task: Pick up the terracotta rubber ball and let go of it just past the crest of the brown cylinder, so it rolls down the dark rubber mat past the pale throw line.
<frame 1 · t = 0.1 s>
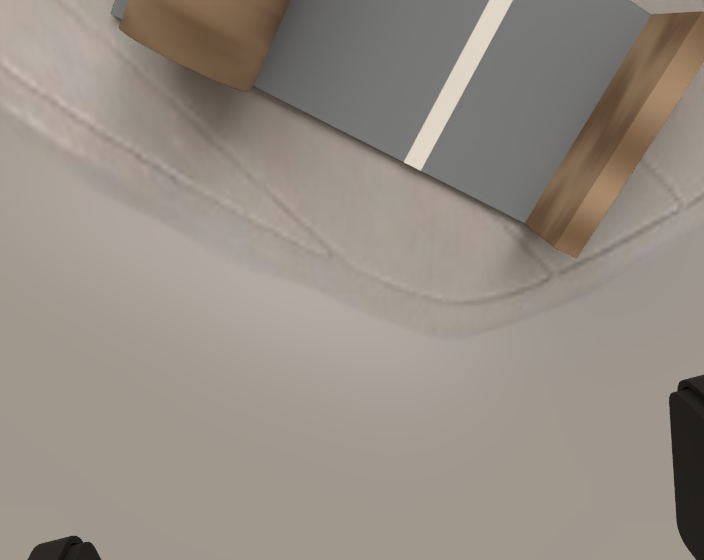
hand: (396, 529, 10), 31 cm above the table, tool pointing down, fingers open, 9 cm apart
throwing mat: (401, 21, 37), on the table
backstop board: (592, 129, 40), resting on throwing mat
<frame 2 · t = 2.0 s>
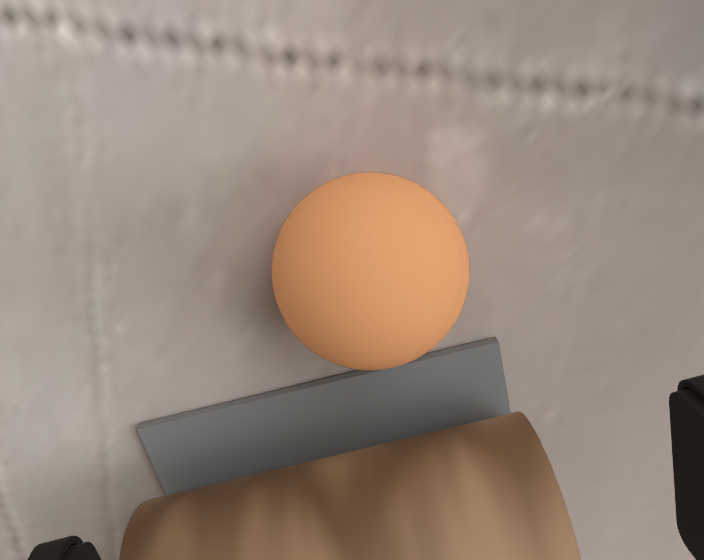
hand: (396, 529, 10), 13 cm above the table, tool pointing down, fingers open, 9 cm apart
ball: (370, 271, 20), point 3 cm above the table
brown cylinder: (346, 482, 26), resting on throwing mat
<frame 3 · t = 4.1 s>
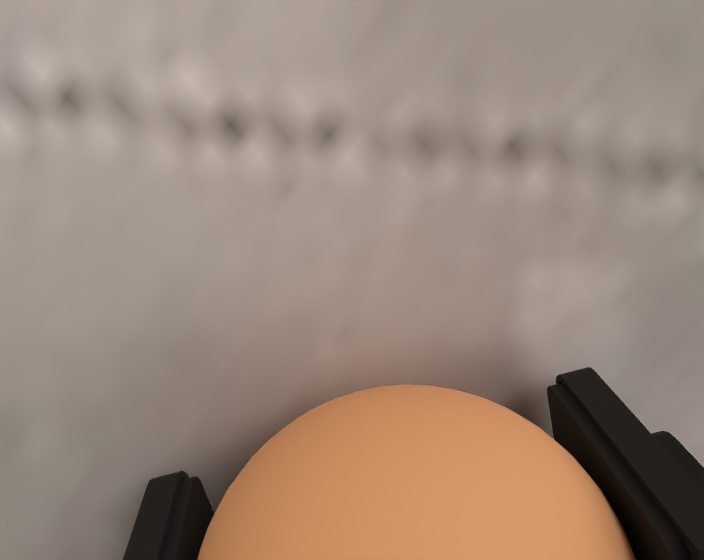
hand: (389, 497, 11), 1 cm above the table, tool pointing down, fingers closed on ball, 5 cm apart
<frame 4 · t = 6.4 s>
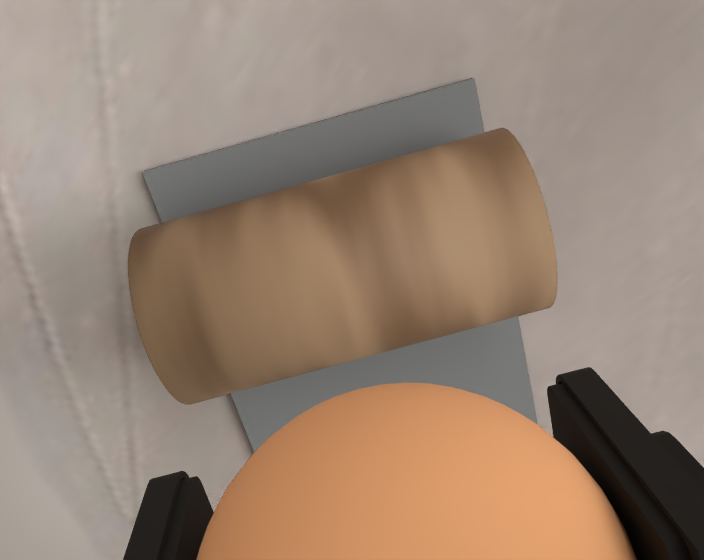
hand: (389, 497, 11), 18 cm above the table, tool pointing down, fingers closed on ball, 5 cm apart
throwing mat: (389, 411, 32), on the table
brown cylinder: (338, 236, 28), resting on throwing mat
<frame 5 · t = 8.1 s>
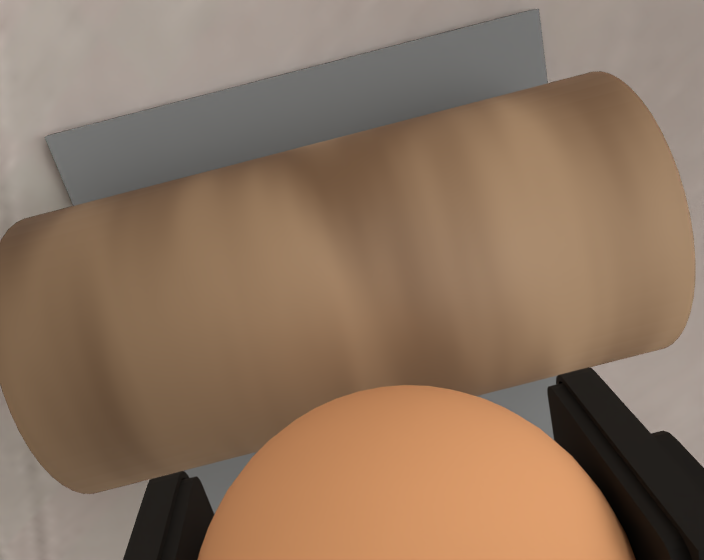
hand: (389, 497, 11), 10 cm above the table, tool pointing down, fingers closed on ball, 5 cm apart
throwing mat: (398, 479, 23), on the table
brown cylinder: (334, 237, 20), resting on throwing mat
when the fingers open (10 cm above the table, at t = 8.9 s): ball drops 9 cm, resting on throwing mat.
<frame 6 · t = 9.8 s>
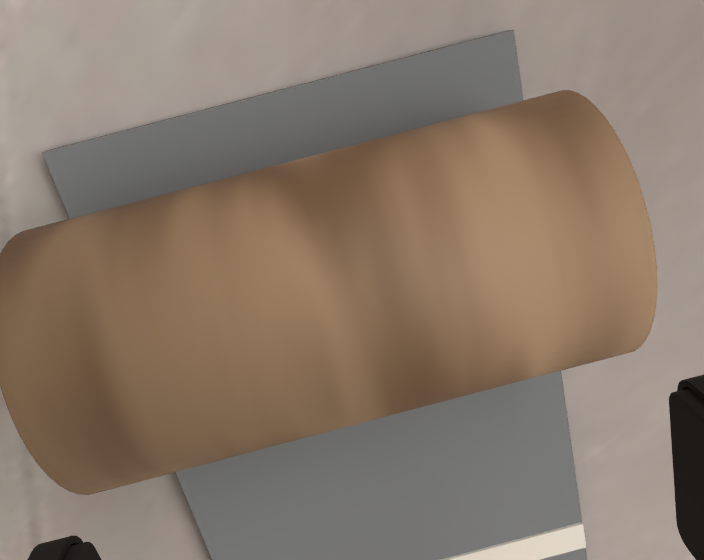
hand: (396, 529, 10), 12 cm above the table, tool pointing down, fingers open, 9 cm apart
throwing mat: (385, 482, 24), on the table
brown cylinder: (321, 247, 20), resting on throwing mat
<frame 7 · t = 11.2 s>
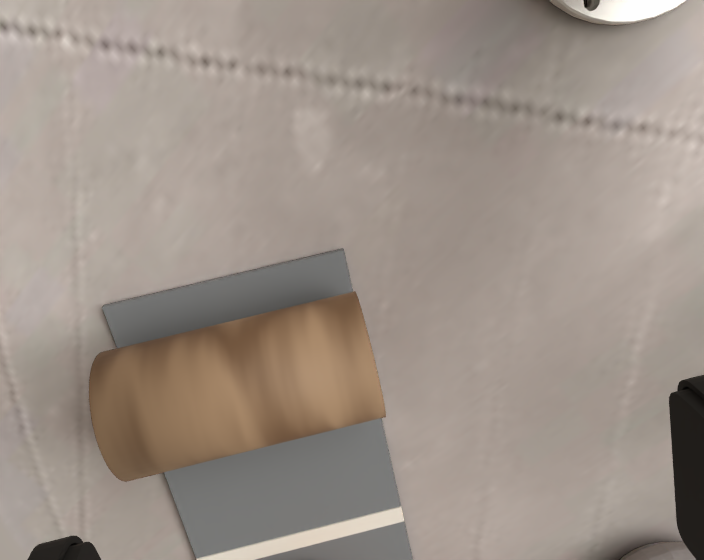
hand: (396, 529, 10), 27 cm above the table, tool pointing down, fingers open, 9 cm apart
throwing mat: (285, 481, 42), on the table
brown cylinder: (247, 353, 38), resting on throwing mat
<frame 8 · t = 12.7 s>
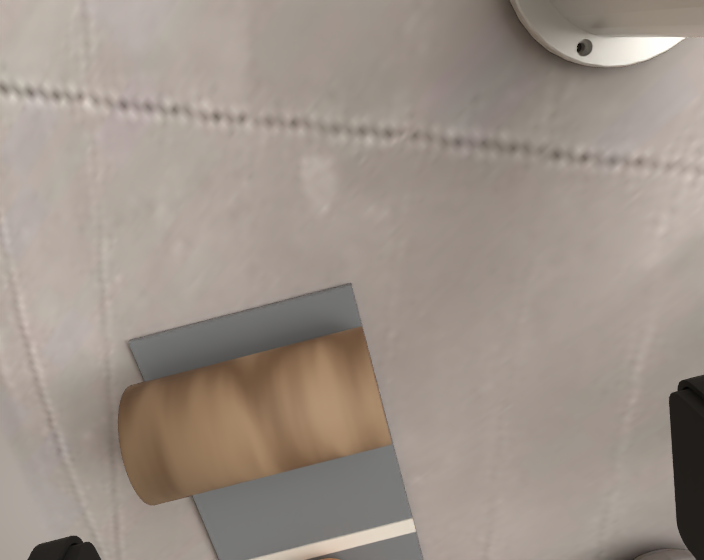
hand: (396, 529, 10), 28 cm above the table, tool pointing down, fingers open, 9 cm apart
throwing mat: (302, 495, 44), on the table
brown cylinder: (263, 380, 41), resting on throwing mat
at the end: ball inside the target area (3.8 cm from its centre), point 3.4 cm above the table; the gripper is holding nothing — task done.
